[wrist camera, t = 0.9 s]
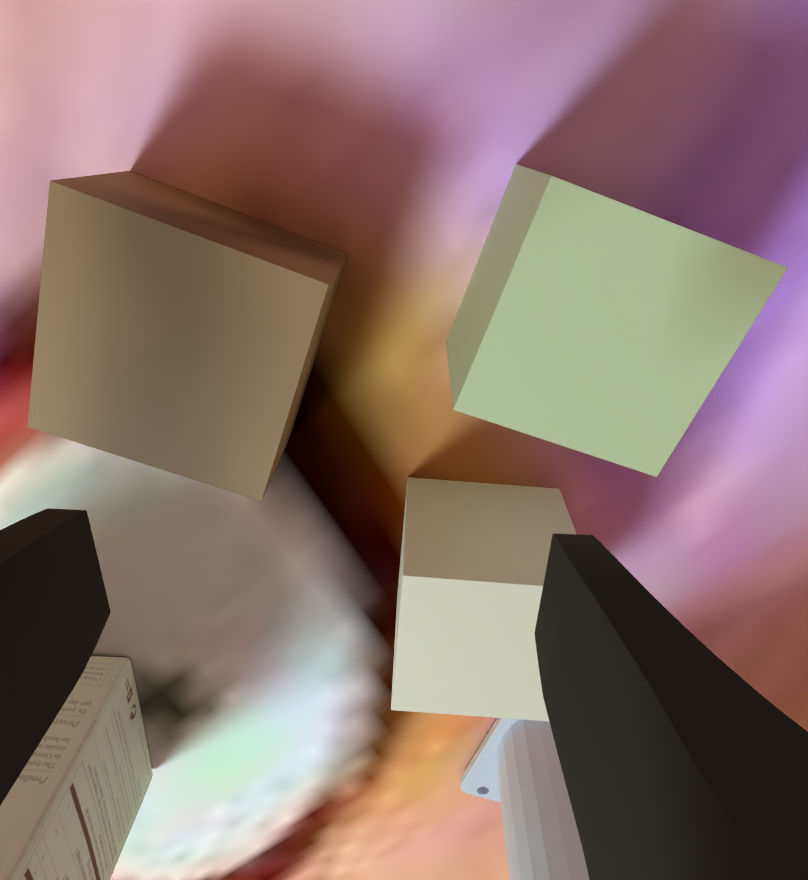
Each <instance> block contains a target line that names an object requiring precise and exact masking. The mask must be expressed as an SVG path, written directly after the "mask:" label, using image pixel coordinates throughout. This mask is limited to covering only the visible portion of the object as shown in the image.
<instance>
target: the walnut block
mask: <svg viewBox="0 0 808 880" xmlns="http://www.w3.org/2000/svg"><path fill="white" fill-rule="evenodd" d="M347 255H348V254H347V253H345V252H342V251H339V250H337V249H334V248H331V247H329V246H326V245H324V244H321V243H318V242H316V241H313V240H310V239H308V238H305V237H303V236H300V235H297V234H295V233H292V232H289V231H287V230H284V229H282V228H279V227H276V226H274V225H271V224H268V223H266V222H263V221H261V220H258V219H255V218H253V217H250V216H247V215H245V214H242V213H239V212H237V211H234V210H232V209H229V208H226V207H224V206H221V205H218V204H216V203H213V202H211V201H208V200H205V199H203V198H200V197H197V196H195V195H192V194H190V193H187V192H184V191H182V190H179V189H176V188H174V187H171V186H169V185H166V184H163V183H161V182H158V181H155V180H153V179H150V178H148V177H145V176H142V175H140V174H137V173H134V172H132V171H125V172H117V173H109V174H101V175H93V176H85V177H77V178H68V179H60V180H52V181H50V186H49V197H48V208H47V219H46V230H45V241H44V252H43V263H42V274H41V285H40V296H39V307H38V318H37V329H36V340H35V351H34V362H33V372H32V383H31V394H30V405H29V416H28V427H30V428H34V429H37V430H40V431H43V432H46V433H49V434H52V435H56V436H59V437H62V438H65V439H68V440H71V441H74V442H78V443H81V444H84V445H87V446H90V447H93V448H96V449H100V450H103V451H106V452H109V453H112V454H115V455H118V456H122V457H125V458H128V459H131V460H134V461H137V462H140V463H144V464H147V465H150V466H153V467H156V468H159V469H162V470H166V471H169V472H172V473H175V474H178V475H181V476H185V477H188V478H191V479H194V480H197V481H200V482H203V483H207V484H210V485H213V486H216V487H219V488H222V489H225V490H229V491H232V492H235V493H238V494H241V495H244V496H247V497H251V498H254V499H257V500H260V501H262V499H263V496H264V494H265V492H266V490H267V487H268V485H269V483H270V481H271V478H272V476H273V474H274V472H275V469H276V467H277V465H278V463H279V460H280V458H281V456H282V454H283V451H284V449H285V447H286V445H287V442H288V440H289V438H290V435H291V432H292V429H293V426H294V423H295V419H296V416H297V413H298V410H299V407H300V404H301V401H302V397H303V394H304V391H305V388H306V385H307V382H308V378H309V375H310V372H311V369H312V366H313V363H314V359H315V356H316V353H317V350H318V347H319V344H320V341H321V337H322V334H323V331H324V328H325V325H326V322H327V318H328V315H329V312H330V309H331V306H332V303H333V299H334V296H335V293H336V290H337V287H338V284H339V281H340V277H341V274H342V271H343V268H344V265H345V262H346V258H347Z"/></svg>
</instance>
